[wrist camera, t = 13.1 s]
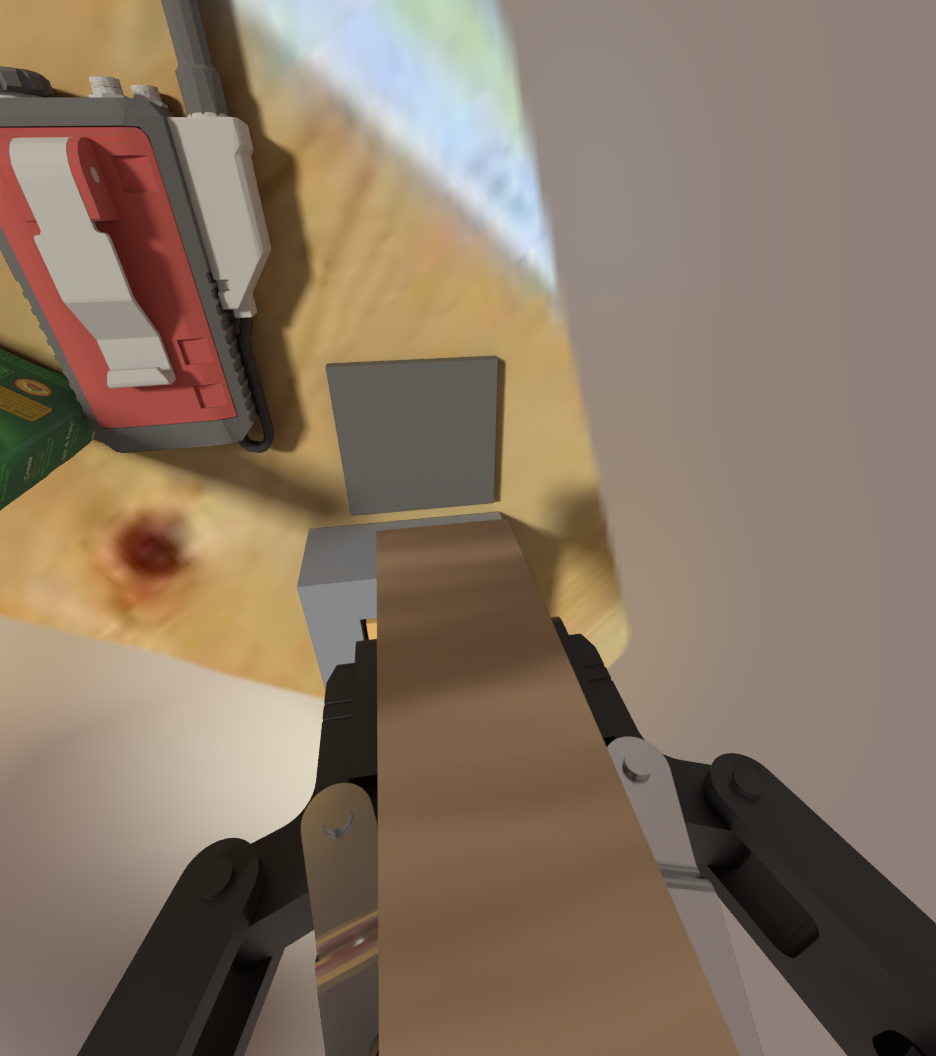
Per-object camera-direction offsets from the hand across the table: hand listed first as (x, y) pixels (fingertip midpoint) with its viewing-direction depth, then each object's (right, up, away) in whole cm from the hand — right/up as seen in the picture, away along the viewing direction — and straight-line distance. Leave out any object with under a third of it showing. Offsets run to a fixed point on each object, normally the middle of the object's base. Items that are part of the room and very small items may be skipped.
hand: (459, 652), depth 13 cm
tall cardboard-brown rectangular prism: (-1, +2, +3) cm, 3 cm away
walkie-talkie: (-12, +16, +5) cm, 21 cm away
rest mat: (-2, +8, +12) cm, 15 cm away
